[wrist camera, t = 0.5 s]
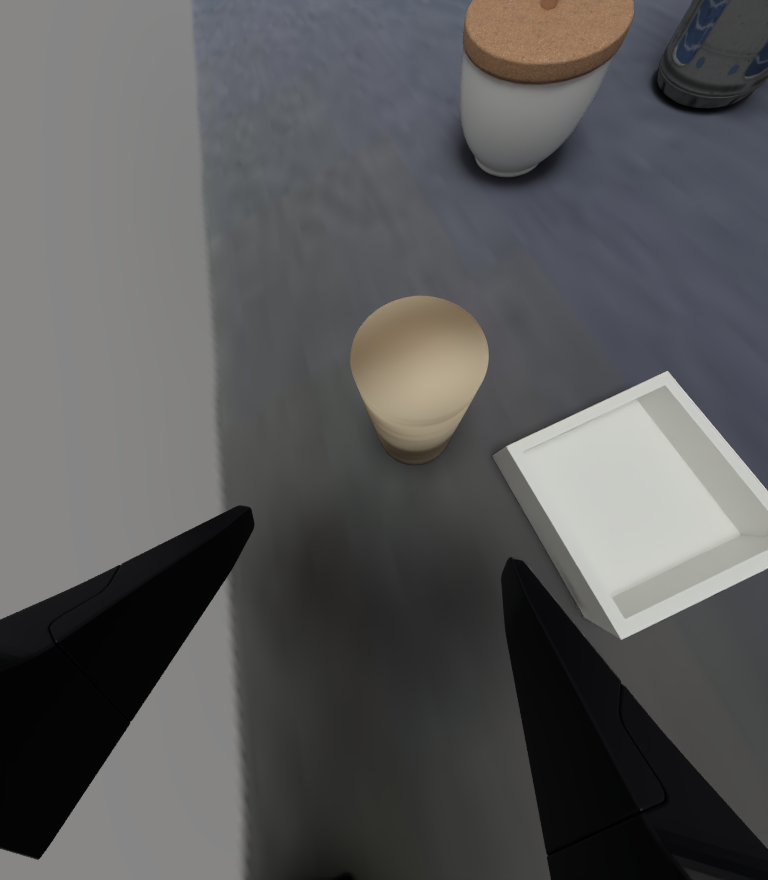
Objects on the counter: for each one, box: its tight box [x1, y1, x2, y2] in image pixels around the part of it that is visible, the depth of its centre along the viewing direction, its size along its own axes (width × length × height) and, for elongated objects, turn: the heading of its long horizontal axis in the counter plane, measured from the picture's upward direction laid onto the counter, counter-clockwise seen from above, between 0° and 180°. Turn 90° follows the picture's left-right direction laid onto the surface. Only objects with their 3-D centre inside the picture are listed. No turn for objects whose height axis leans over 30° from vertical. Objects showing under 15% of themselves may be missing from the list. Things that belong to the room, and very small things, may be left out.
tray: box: [492, 371, 768, 640], centre depth 19 cm, size 13×13×4 cm
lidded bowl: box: [460, 0, 634, 177], centre depth 25 cm, size 13×13×11 cm
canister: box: [350, 296, 489, 465], centre depth 18 cm, size 6×6×12 cm
